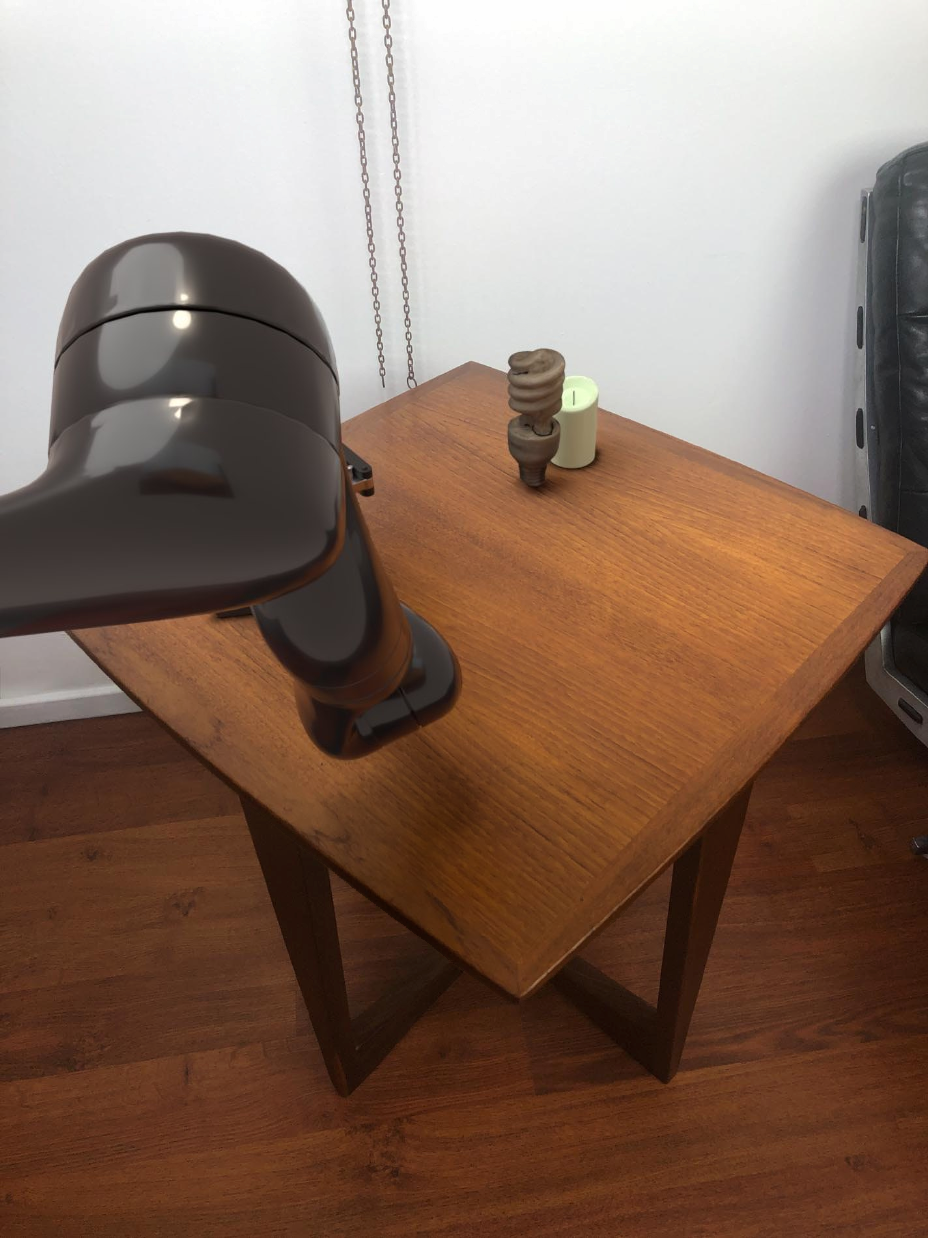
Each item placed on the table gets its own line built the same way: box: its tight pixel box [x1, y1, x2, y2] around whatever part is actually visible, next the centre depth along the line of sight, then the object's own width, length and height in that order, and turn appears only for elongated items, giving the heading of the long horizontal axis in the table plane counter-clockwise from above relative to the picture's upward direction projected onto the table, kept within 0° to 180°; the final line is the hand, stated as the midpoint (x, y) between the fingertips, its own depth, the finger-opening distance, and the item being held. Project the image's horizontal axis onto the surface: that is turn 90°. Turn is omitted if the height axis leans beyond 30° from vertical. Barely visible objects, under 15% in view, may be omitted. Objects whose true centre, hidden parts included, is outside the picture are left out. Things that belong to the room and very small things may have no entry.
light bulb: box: [506, 347, 566, 488], centre depth 94 cm, size 6×6×15 cm
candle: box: [550, 375, 600, 469], centre depth 100 cm, size 5×5×8 cm
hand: (269, 442), depth 85 cm, fingers closed on beverage can, 5 cm apart
